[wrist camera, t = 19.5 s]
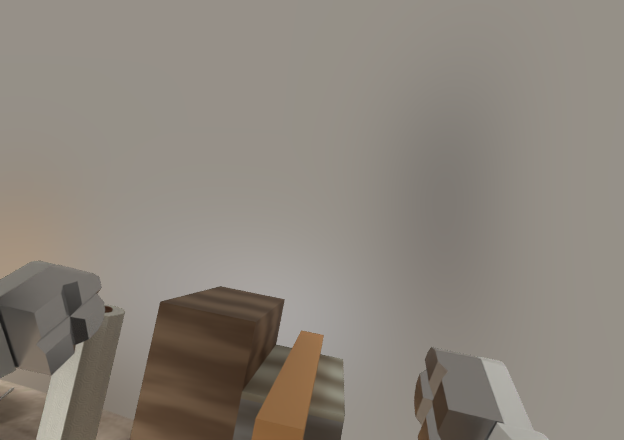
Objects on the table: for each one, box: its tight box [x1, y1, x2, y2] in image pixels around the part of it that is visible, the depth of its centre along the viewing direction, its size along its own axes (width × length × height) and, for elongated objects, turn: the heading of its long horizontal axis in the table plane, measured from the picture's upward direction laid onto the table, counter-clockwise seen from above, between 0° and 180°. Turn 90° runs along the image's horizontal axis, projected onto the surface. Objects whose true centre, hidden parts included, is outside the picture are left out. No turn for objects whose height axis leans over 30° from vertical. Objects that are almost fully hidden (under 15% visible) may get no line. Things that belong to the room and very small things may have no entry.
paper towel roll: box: [36, 305, 125, 440], centre depth 41 cm, size 7×6×21 cm
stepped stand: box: [130, 286, 345, 440], centre depth 37 cm, size 16×18×26 cm
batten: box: [251, 331, 323, 440], centre depth 33 cm, size 25×3×2 cm, turn 175°
